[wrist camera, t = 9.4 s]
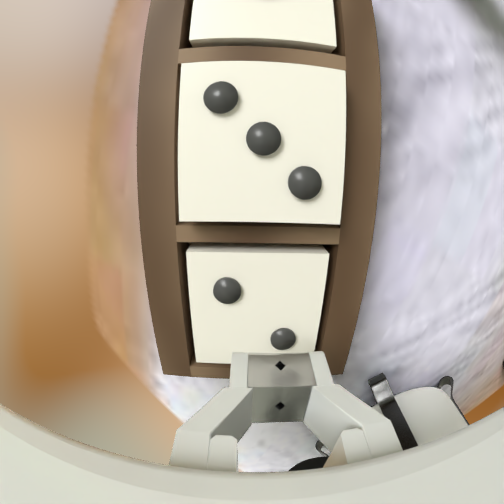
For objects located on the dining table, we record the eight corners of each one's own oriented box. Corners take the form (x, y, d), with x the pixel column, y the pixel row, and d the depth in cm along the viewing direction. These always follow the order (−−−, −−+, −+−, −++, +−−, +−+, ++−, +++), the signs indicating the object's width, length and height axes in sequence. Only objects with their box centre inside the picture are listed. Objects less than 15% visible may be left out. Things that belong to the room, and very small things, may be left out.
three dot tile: (330, 83, 10) (347, 69, 8) (326, 213, 12) (341, 226, 10) (191, 77, 10) (180, 61, 8) (189, 211, 12) (177, 222, 10)
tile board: (343, -17, 10) (361, -45, 6) (328, 338, 17) (342, 373, 14) (177, -24, 9) (165, -54, 6) (175, 338, 17) (163, 374, 14)
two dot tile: (318, 240, 13) (330, 255, 11) (305, 339, 15) (312, 364, 13) (194, 238, 13) (185, 253, 11) (201, 339, 15) (195, 364, 13)
